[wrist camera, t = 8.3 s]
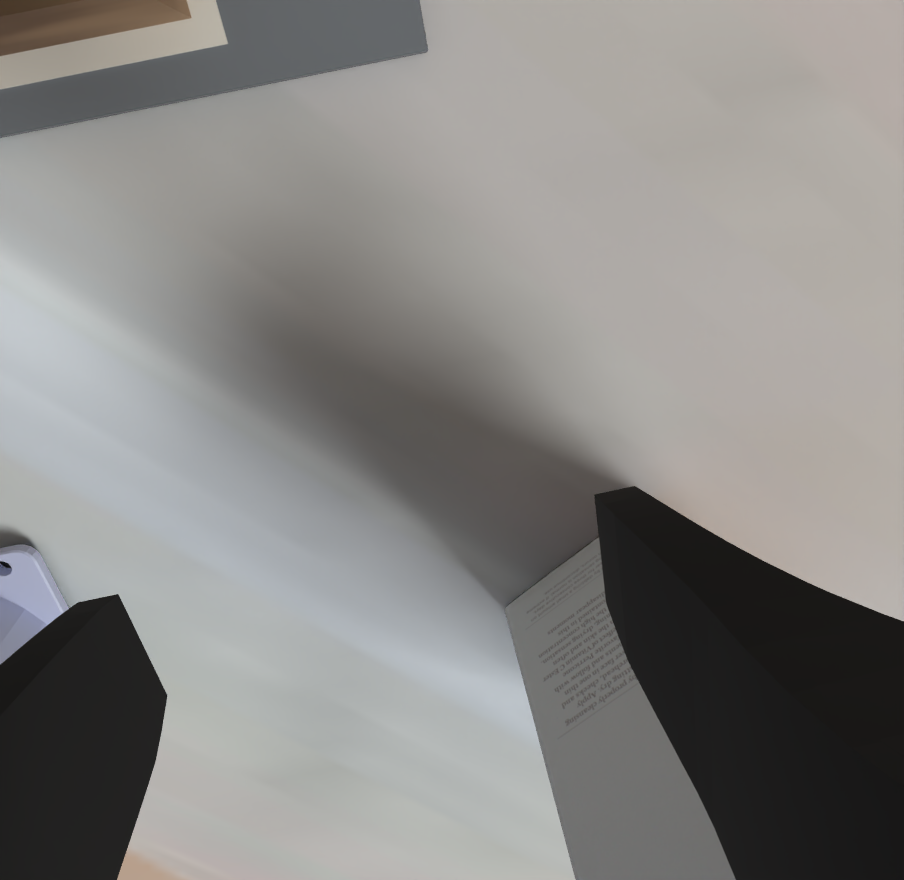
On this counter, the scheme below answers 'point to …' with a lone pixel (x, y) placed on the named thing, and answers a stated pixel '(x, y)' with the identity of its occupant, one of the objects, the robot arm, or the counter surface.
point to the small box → (606, 739)
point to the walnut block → (78, 20)
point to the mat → (202, 57)
